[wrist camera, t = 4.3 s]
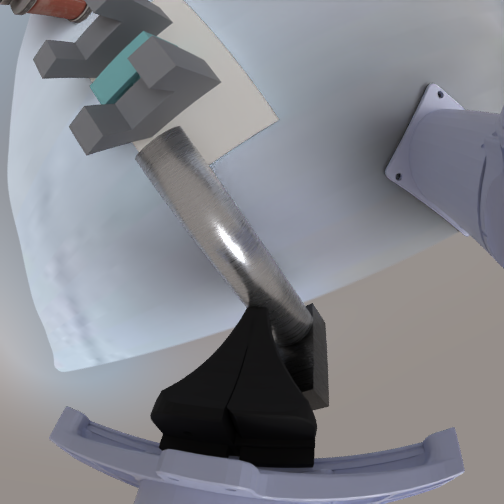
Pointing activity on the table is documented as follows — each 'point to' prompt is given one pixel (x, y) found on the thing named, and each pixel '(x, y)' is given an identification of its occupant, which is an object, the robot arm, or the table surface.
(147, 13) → the shaft stand
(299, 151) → the table surface
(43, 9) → the lighter
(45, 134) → the table surface
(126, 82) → the spacer
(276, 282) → the shaft
